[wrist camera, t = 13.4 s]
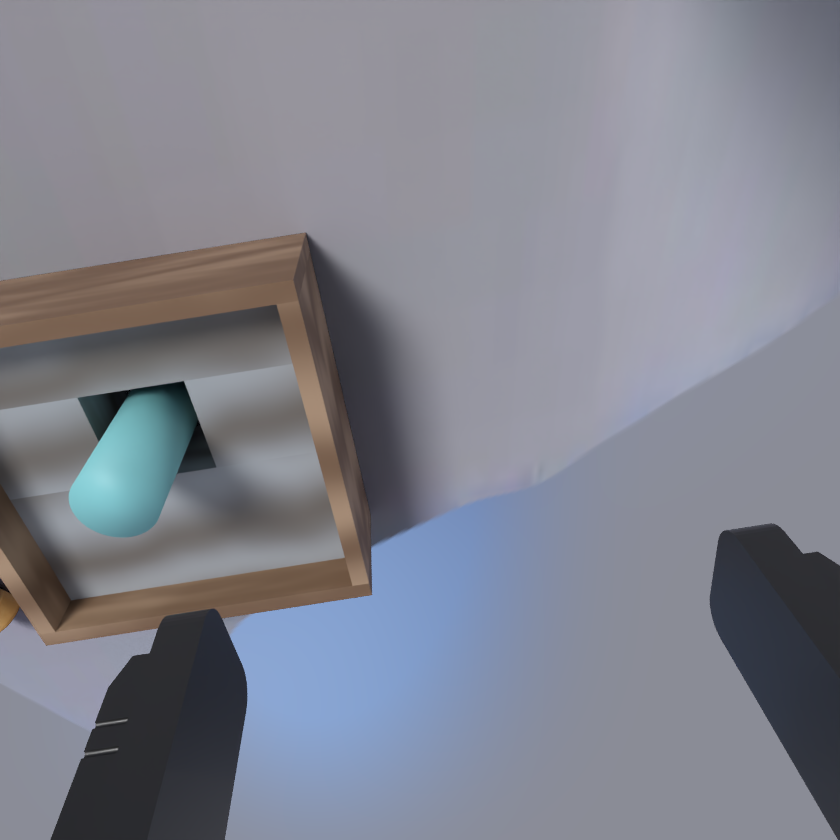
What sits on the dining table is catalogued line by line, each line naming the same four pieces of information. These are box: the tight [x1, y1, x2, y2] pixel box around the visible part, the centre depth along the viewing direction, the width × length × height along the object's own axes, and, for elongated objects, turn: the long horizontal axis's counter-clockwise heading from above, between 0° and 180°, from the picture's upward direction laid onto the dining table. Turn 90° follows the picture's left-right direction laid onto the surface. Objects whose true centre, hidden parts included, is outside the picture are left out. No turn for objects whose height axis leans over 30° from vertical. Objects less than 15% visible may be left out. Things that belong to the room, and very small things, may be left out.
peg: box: [69, 381, 198, 538], centre depth 34 cm, size 4×4×11 cm
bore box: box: [0, 233, 372, 646], centre depth 37 cm, size 20×20×8 cm
